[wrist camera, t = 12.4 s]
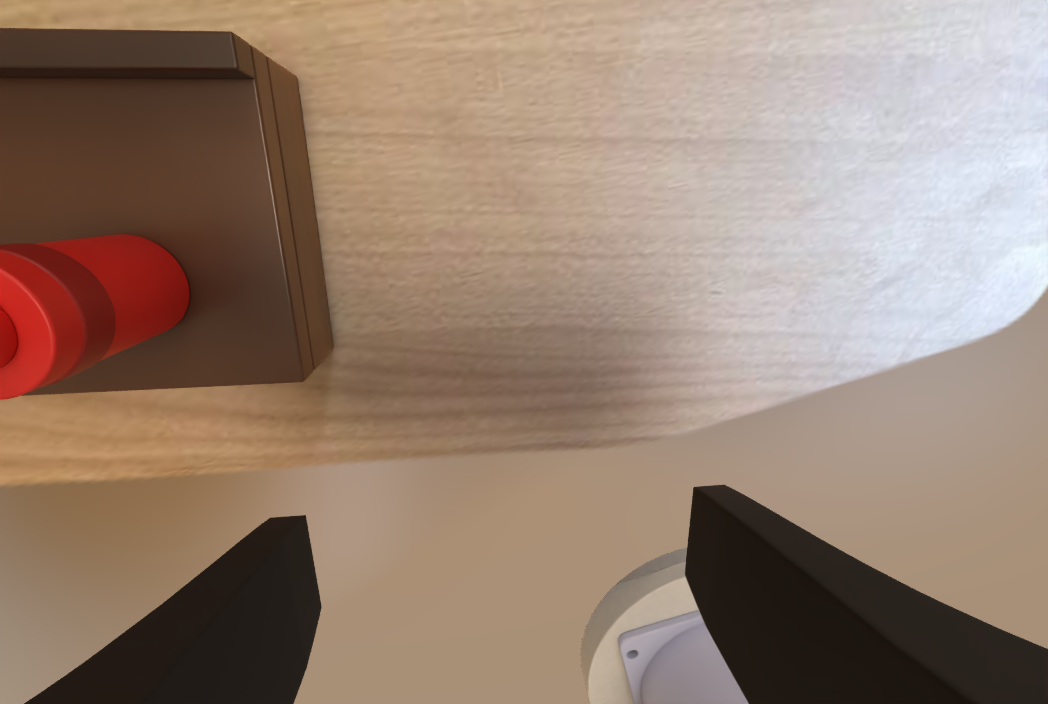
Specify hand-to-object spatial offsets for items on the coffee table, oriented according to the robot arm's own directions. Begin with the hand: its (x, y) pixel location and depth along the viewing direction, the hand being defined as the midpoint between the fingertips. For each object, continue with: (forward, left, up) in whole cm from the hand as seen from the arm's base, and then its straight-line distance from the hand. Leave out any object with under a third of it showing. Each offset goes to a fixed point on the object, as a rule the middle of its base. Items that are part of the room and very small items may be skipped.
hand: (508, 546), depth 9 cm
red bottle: (+6, +8, -7) cm, 13 cm away
